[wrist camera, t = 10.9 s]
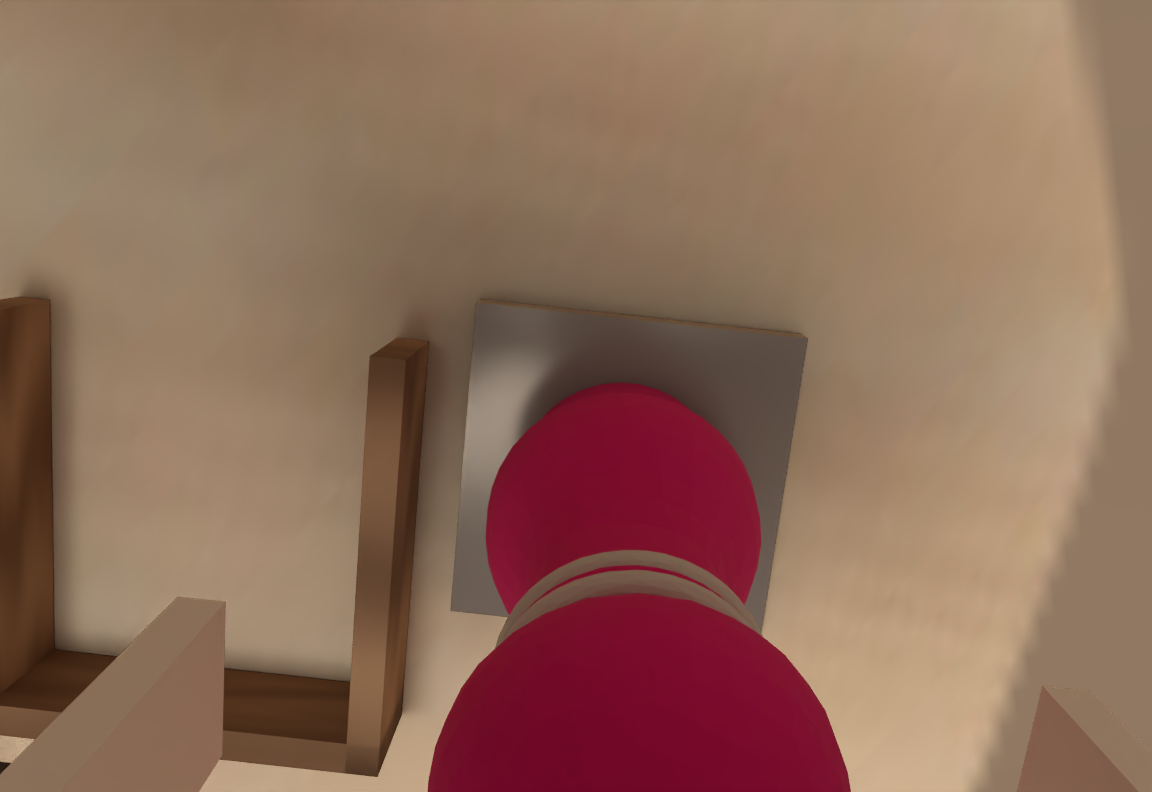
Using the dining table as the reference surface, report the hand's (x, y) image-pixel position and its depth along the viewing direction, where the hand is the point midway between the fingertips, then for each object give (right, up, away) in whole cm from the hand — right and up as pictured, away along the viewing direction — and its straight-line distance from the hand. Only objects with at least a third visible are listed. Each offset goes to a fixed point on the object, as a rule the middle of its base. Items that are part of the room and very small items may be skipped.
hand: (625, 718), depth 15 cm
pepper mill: (+1, +3, +14) cm, 14 cm away
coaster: (+1, +3, +15) cm, 15 cm away
